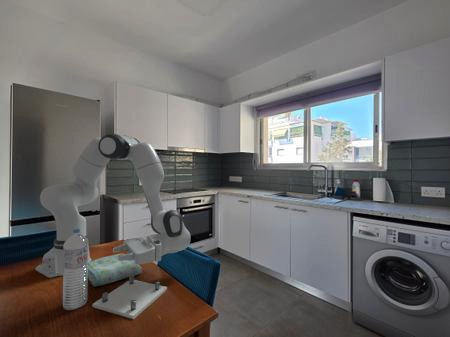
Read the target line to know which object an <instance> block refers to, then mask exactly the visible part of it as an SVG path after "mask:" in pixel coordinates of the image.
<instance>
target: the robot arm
mask: <svg viewBox="0 0 450 337" xmlns="http://www.w3.org/2000/svg"><path fill="white" fill-rule="evenodd" d="M111 160H117V161H125V160H130V161H131V163H132V164H133V167H134V169H135V172H136V175H137V177H138V179H139V181H140V184H141V188H142V190H143V192H144V196H145V198H146V202H147V206H148V210H149V212H150V226H151V229H152V231H153V232H154V233H156V234H151V235H148V236H146V238H145V239H144V238H143V237H135V238H133V237H132V238H128V239H125V240H123V244H120V245H117V246H114V247H113V248H112V252H113V253H114V254H116V253H119V252H121V251H125V252H126V254H125V253H120V254H121V255H119V256H118V260H119V261H123V260H129V261H130V260H133V261H134V262H135V263H136V264H139V265H143V264H149V263H152V262H161V261H162V256H165V255H166V254H174V253H178V252H180V251H181V252H182V251H183V250H185V249H187V248H188V247H189V246H190V243H191V237H192V236H191V233H190V231H189V230H188V229H187V227H186V226H185V224H184V219H183V216H182V214H181V212H179V210H176V209H170V210H166V209H165V208H164V204H163V201H162V197H161V194H160V190H161V186H162V183H163V181H164V179H165V172H164V166H163V165H162V161H161V159H160V157H159V155H158V153H157V151H156V150H155V148H154V146H153V145H152V143H149V142H146V141H145V142H143V141H139V140H138V139H137V138H135V137H131V136H128V135H126V134H125V135H124V134H117V133H109V134H105V135H103V136H99V137H98V136H97V137H94V138H93V139H92V140H91V141H89V143H88V144H87V145H86V146H85V147H84V149H83V151H82V152H81V154H80V155H79V157H78V158H77V159H76V162H75V163H74V165H73V167H72V170H71V171H72V173H73V175H74V176H75V178H74V180H73V181H72V182H71V183H59V184H58V183H57V184H53V185H51V186H47V187H45V188H44V189H43V190H42V191H41V193H40V196H39V201H40V203H41V206H43V208H45V209H46V210H48V211H49V212H50V213H51V215H53V217H54V221H55V224H56V225H55V226H56V238H55V239H54V240H53V247H52V248H51V249H49V251H47V252H46V253H45V254H44V255H43V257H42V260H41V262H42V263H40V264H39V265H38V266H36V267H35V271H36V272H38V273H40V274H42V275H44V276H45V277H47V278H48V279H49V278H54V277H59V276H60V277H61V276H63V268H64V243H65V242H66V240H67V239H68V238H69V237H70V236H72V235H73V234H74V233H73V230H75V229H80V232H79V234H82V235H83V236H85V237H86V238H87V239H88V235H87V219H86V217H85V216H83V215H81V213H80V212H79V208H78V207H80V206H85V205H89V204H91V203H93V202H95V201H96V200H97V199H98V198H99V194H100V191H99V188H98V187H97V185H98V181H99V179H100V177H101V175H102V174H103V172H104V170H105V168H106V167H107V166H108V163H109V162H110V161H111ZM88 240H89V239H88ZM124 254H125V255H124ZM91 261H92V258H91V257H90V248H89V246H88V262H91Z"/></svg>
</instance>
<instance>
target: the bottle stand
mask: <svg viewBox="0 0 450 337" xmlns="http://www.w3.org/2000/svg"><path fill="white" fill-rule="evenodd" d="M160 283H161V282H160V281H158V280H157V281H155V282H154V283H152V282H151V283H150V282H146V281H141V280H137V279H135V276H130V277H128V281H126V282H124V283H123V284H122V285H120V286H118V287H116V288H115V289H113V290H112V291H111V292H109V293H108V292H103V293H102V296H101V298H100V299H98V300H96V301H95V302H94V303H92V308H94V309H98V310H102V311H105V312H108V313H111V314H114V315H119V316H121V317H124V318H125V317H126V318H128V319H131V320H135V319H136V318H137V317H138V316H139V315H141V313H143V312H144V311H145V310H146V309H147V308H148V307H149V306H150V305H152V304H153V303H154V302H155V301H156V300H158V299H159V297H161V296H162V295H163V294H164V293H165V292H167V290H168V286H165V285H164V286H163V285H161V284H160Z"/></svg>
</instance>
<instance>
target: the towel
mask: <svg viewBox="0 0 450 337" xmlns="http://www.w3.org/2000/svg"><path fill="white" fill-rule="evenodd" d="M121 254H122V253H117V254H116V253H115V254H113V255H107V256H103V257H100V258H97V259H94V260H91V261H90V262H88V281H89V282H90V283H91V285H92V286H93V287H100V286H105V285H107V284H110V283H114V282H117V281H122V280H125V279H127V278H128V279H129V277H130V276H134V277H135V276H138V275H140V274H142V272H143V267H142V266H141V265H140V264H136V263H135V262H134V261H133V260H130V261H129V260H123V261H119V260H118V256H119V255H121ZM123 254H124V255H125V253H123Z"/></svg>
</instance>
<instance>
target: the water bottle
mask: <svg viewBox="0 0 450 337" xmlns="http://www.w3.org/2000/svg"><path fill="white" fill-rule="evenodd" d="M79 232H80V229H75V230H73V233H74V234H73V235H72V236H70V237H69V238H68V239H67V240H66V242H65V243H64V268H63V275H62V278H63V279H62V307H63V310H66V311H75V310H77V309H79V308H81V307H83V306H85V305H86V303H87V302H88V295H89V294H88V293H89V292H88V289H89V278H88V247H89V239H87V238H88V237H87V238H86V237H85V236H83V235H82V234H79Z"/></svg>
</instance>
